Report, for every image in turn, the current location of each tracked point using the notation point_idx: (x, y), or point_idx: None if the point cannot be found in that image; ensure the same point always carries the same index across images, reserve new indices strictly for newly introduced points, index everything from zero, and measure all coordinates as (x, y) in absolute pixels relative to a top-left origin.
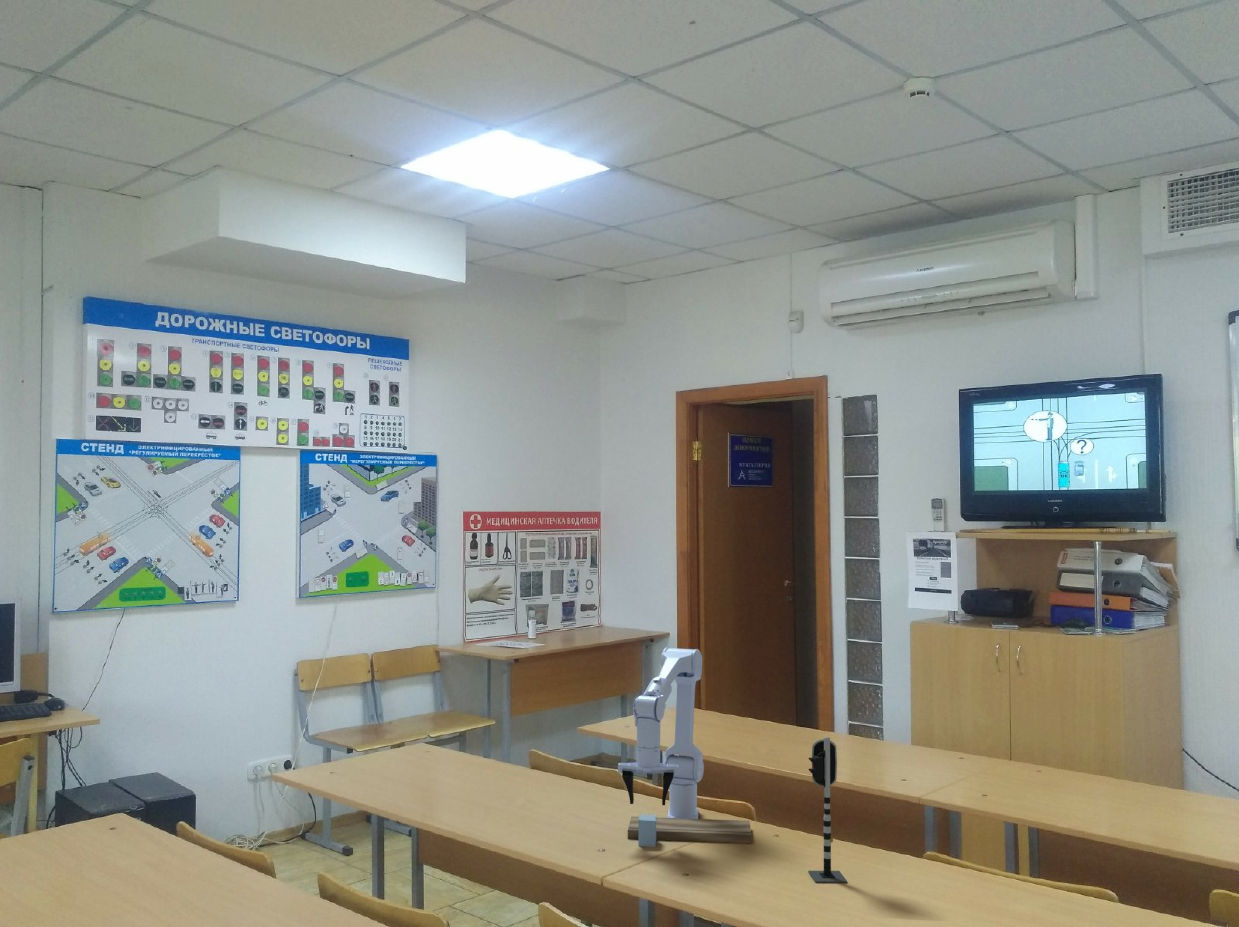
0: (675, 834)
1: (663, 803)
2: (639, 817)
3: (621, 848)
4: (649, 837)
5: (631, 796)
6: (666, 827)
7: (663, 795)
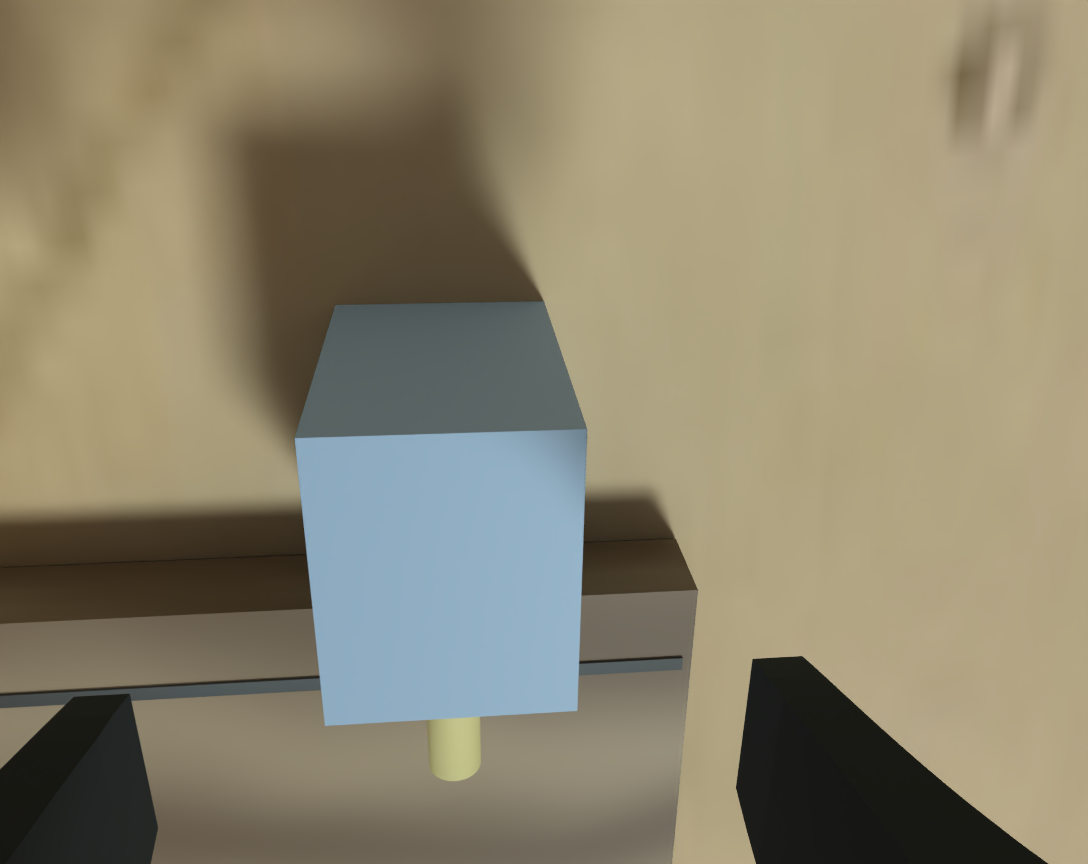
0: (110, 598)
1: (83, 716)
2: (580, 573)
3: (748, 170)
4: (405, 338)
5: (850, 742)
6: (245, 746)
7: (1, 842)
